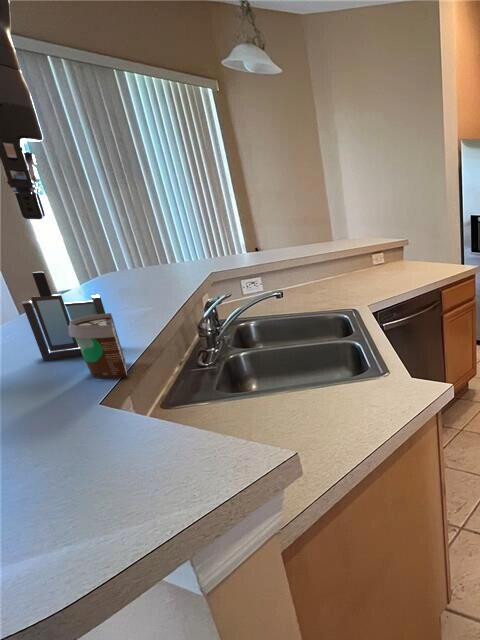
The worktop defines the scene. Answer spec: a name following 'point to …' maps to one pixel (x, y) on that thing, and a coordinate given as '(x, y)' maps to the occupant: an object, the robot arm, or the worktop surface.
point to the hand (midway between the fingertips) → (35, 217)
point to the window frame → (75, 312)
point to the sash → (52, 316)
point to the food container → (99, 345)
